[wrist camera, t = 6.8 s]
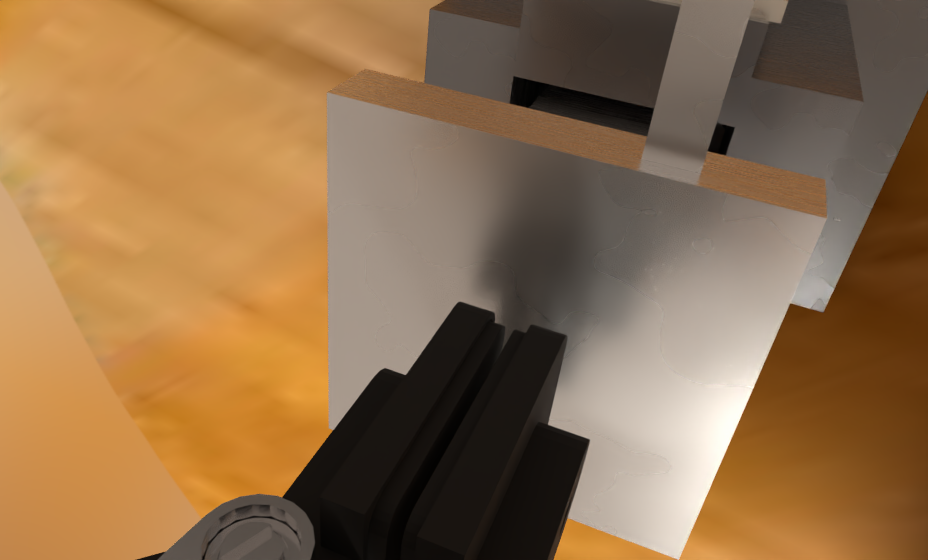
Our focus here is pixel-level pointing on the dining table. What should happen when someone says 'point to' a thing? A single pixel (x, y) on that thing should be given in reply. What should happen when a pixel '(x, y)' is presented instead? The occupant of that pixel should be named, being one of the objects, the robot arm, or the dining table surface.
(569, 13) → the tester
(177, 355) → the dining table surface
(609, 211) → the grey flanged block
